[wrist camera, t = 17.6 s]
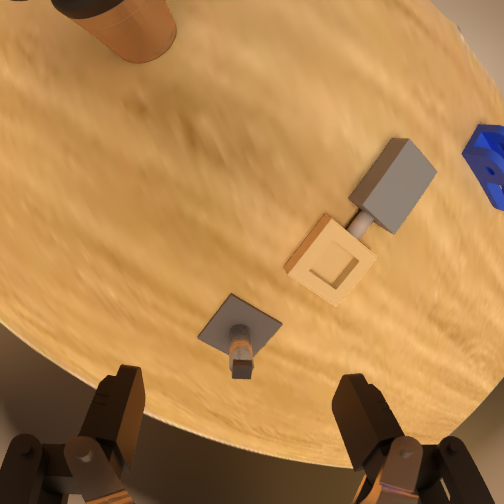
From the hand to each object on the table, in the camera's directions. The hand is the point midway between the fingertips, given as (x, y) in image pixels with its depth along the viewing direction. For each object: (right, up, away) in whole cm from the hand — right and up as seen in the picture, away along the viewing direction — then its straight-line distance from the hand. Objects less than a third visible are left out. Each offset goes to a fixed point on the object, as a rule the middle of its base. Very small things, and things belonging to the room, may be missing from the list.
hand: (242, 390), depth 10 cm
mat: (-2, -8, +37) cm, 37 cm away
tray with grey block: (+17, +11, +32) cm, 37 cm away
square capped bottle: (-2, -8, +36) cm, 37 cm away
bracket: (+47, +21, +31) cm, 60 cm away
